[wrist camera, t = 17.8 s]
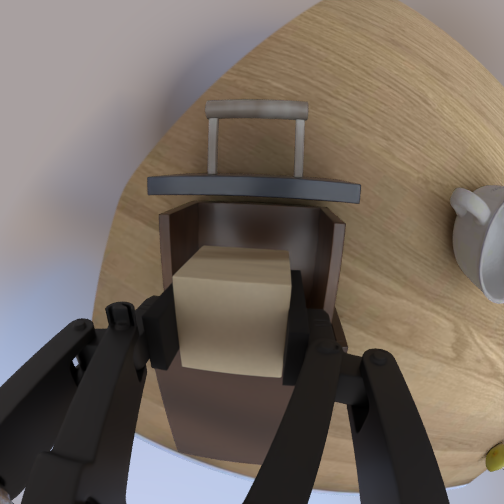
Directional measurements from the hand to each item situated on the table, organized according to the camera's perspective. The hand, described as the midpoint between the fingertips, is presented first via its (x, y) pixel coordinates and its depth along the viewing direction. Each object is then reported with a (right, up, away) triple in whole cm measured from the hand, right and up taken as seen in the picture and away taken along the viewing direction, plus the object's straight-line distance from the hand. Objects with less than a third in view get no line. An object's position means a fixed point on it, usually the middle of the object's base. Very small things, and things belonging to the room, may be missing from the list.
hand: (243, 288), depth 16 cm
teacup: (+24, +6, +7) cm, 25 cm away
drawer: (+1, +4, +9) cm, 9 cm away
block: (0, 0, 0) cm, 0 cm away
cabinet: (+1, -10, +14) cm, 17 cm away
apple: (+68, -53, +20) cm, 88 cm away
